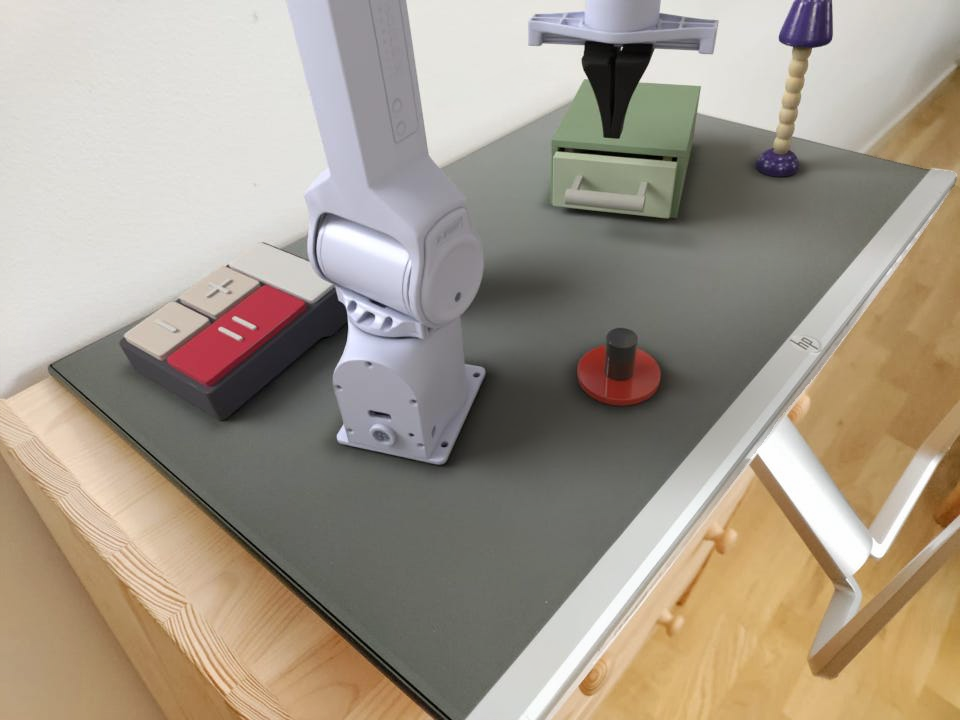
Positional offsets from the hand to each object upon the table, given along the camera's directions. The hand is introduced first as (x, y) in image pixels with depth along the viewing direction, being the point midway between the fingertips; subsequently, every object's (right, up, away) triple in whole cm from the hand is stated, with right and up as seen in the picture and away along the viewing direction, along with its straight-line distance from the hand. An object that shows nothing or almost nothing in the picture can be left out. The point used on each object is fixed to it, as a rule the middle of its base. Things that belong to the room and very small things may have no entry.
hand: (613, 133), depth 61 cm
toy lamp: (+20, +1, +13) cm, 24 cm away
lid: (-1, -21, -9) cm, 23 cm away
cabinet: (+4, 0, +14) cm, 14 cm away
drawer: (+2, -2, +10) cm, 11 cm away
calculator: (-30, -18, -3) cm, 35 cm away
